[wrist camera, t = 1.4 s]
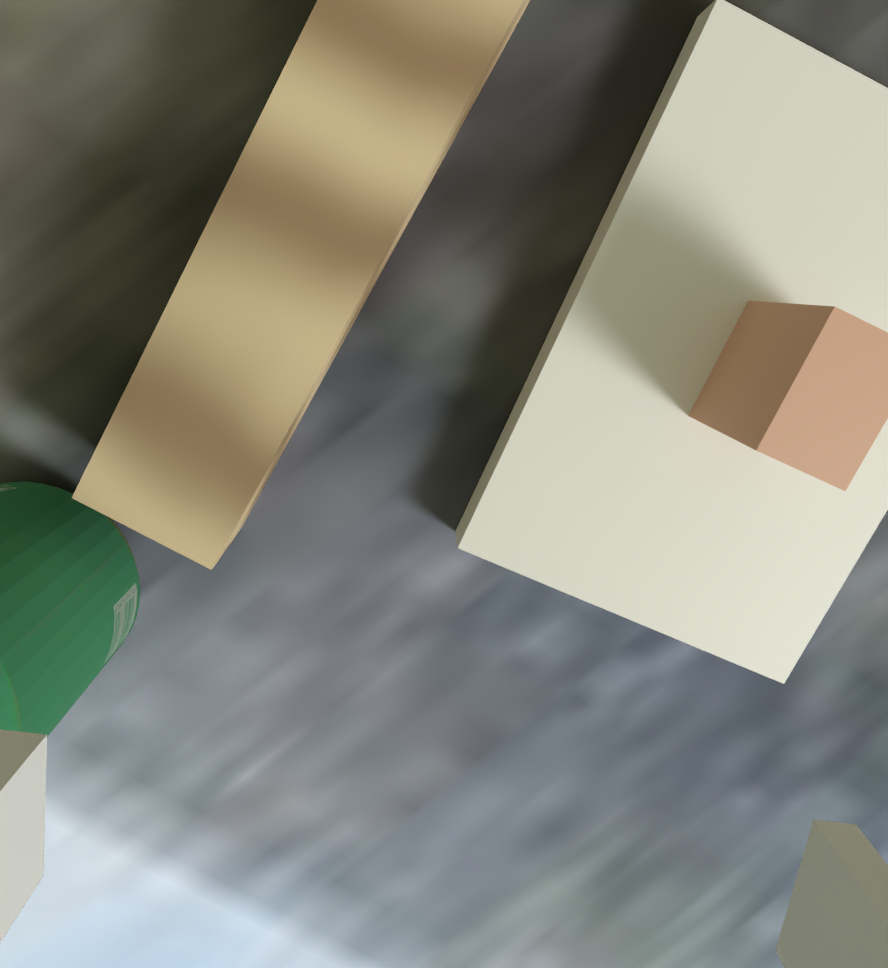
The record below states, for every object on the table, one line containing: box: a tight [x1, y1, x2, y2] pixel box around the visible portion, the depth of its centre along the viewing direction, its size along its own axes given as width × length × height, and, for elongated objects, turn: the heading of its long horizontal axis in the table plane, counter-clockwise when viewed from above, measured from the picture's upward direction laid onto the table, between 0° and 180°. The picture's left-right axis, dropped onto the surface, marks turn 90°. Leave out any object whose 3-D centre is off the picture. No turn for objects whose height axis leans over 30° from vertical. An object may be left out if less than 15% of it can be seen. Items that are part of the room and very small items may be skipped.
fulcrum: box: [455, 0, 888, 684], centre depth 27 cm, size 14×20×8 cm
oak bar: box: [72, 0, 530, 570], centre depth 27 cm, size 22×5×5 cm, turn 150°
